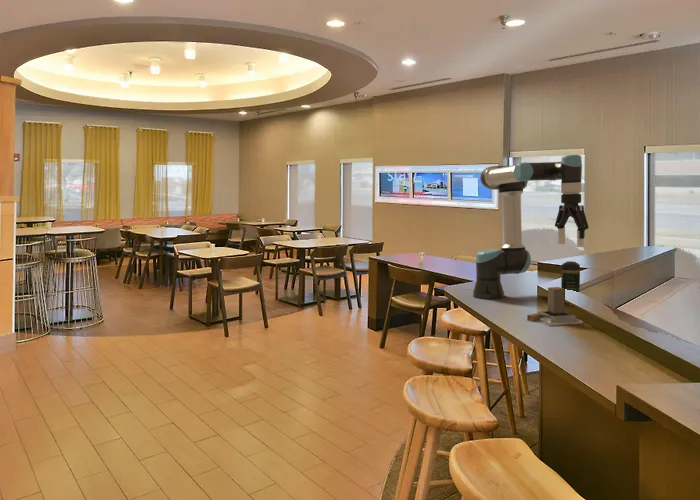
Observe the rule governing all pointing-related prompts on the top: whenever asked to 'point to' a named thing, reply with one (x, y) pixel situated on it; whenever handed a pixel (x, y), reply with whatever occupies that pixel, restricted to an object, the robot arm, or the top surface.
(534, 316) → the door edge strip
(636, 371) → the top surface
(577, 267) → the coffee jar
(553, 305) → the stop bar
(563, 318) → the keeper
